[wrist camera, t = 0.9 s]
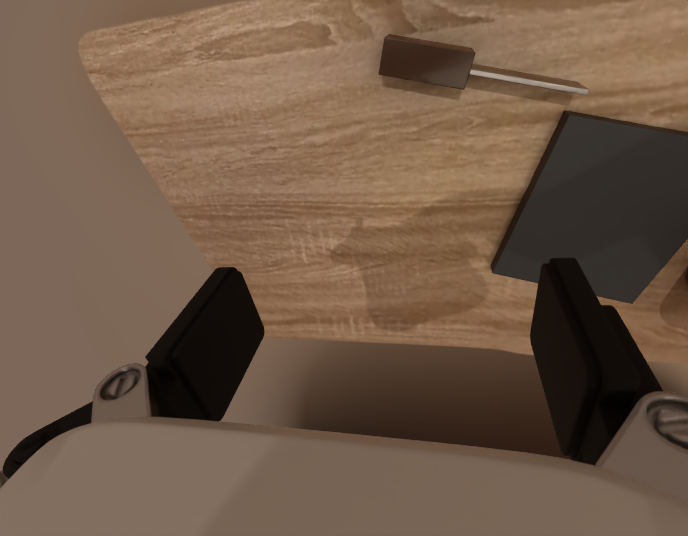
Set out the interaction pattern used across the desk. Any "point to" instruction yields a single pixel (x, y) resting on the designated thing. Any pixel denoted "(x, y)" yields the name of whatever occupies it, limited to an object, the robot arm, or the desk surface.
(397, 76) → the knife
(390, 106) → the desk surface
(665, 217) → the board
